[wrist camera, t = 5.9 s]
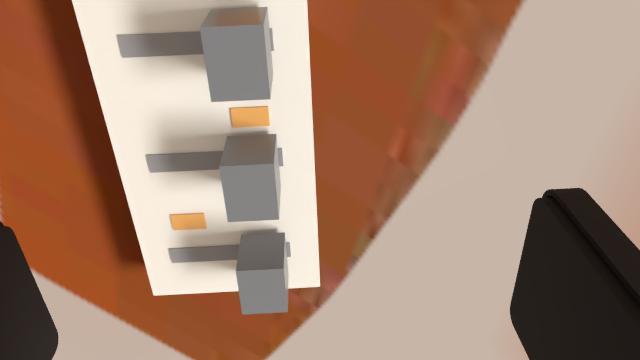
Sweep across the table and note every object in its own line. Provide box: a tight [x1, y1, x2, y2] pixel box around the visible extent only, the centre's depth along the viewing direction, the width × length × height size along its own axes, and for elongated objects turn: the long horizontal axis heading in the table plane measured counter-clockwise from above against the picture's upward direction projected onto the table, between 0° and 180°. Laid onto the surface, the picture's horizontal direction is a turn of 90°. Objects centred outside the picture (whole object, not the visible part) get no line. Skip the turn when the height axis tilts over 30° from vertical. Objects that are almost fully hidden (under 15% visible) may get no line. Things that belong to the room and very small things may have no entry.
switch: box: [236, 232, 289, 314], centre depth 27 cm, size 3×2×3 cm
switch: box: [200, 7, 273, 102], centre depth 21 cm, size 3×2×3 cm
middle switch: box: [219, 134, 281, 222], centre depth 24 cm, size 3×2×3 cm
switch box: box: [72, 0, 320, 295], centre depth 27 cm, size 18×10×3 cm, turn 2°
